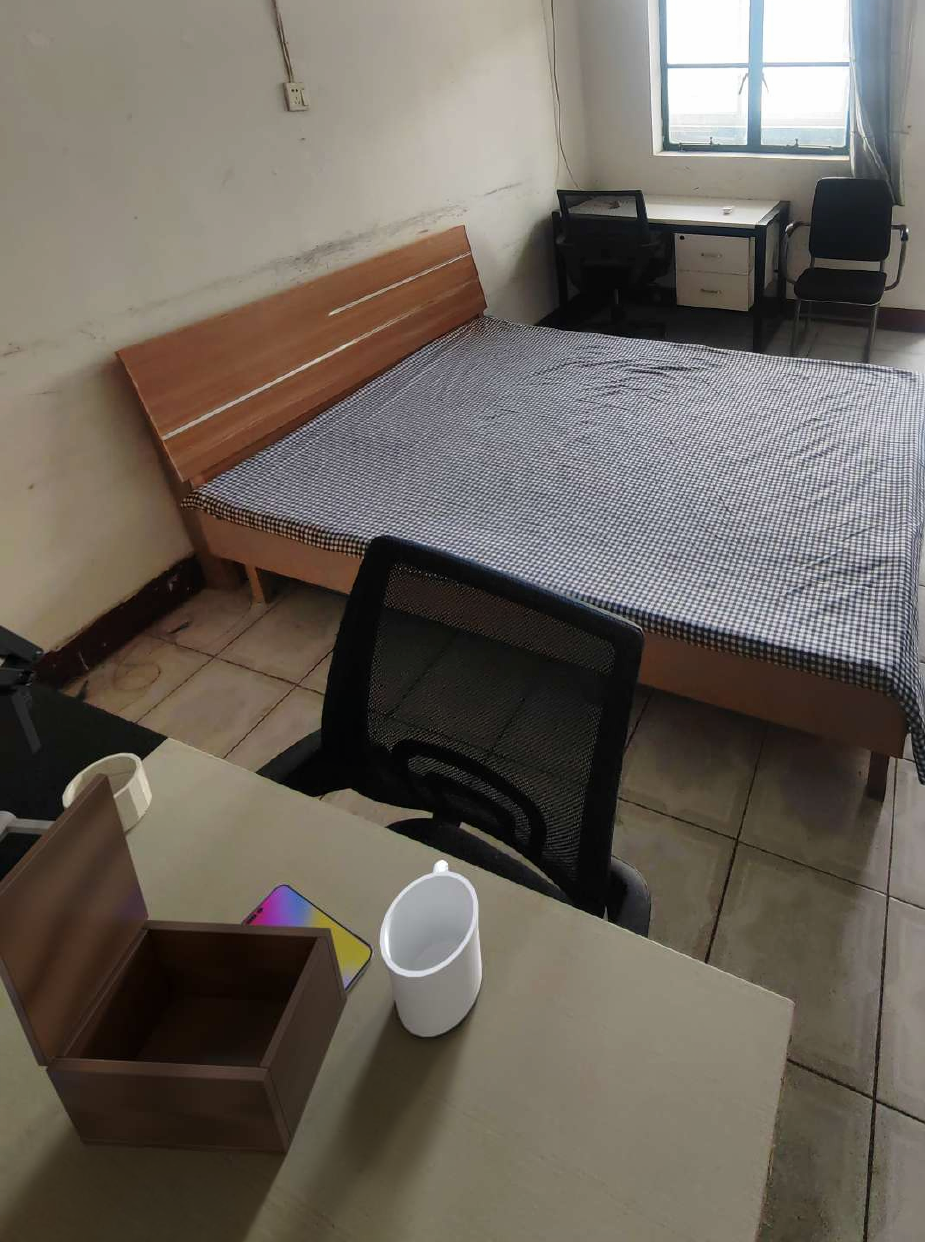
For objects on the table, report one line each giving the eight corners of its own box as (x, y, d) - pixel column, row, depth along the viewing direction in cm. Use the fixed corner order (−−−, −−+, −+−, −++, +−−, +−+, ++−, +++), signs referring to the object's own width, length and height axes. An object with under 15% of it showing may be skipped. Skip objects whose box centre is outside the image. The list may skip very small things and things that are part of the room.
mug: (482, 1035, 64) (472, 967, 61) (383, 1055, 63) (368, 985, 60) (491, 909, 75) (484, 843, 71) (407, 923, 73) (395, 857, 70)
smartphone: (315, 1031, 64) (216, 947, 70) (316, 1035, 64) (218, 951, 71) (377, 949, 70) (282, 879, 77) (378, 954, 71) (283, 883, 77)
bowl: (60, 845, 80) (45, 809, 78) (110, 786, 87) (98, 751, 85) (121, 847, 80) (107, 811, 78) (167, 788, 87) (155, 753, 85)
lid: (107, 772, 57) (13, 765, 57) (-17, 913, 47) (-131, 904, 48) (149, 916, 64) (64, 909, 64) (47, 1067, 54) (-54, 1058, 54)
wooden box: (347, 998, 67) (330, 927, 63) (286, 1155, 57) (262, 1081, 53) (173, 990, 67) (146, 919, 64) (82, 1144, 57) (44, 1070, 54)
